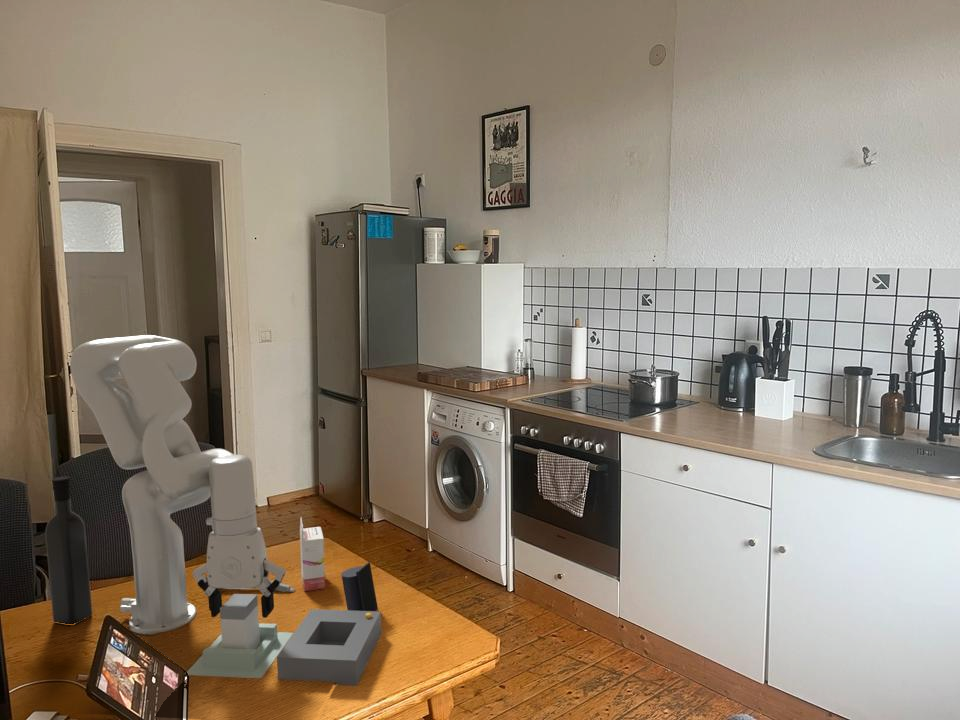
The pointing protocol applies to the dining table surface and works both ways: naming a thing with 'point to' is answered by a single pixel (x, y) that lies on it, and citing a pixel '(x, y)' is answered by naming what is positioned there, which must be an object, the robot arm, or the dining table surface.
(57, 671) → the dining table surface
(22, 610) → the dining table surface
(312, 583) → the ink cartridge box
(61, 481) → the wine bottle
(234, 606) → the plug
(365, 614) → the block
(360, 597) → the speaker
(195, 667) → the pale green cradle tray
